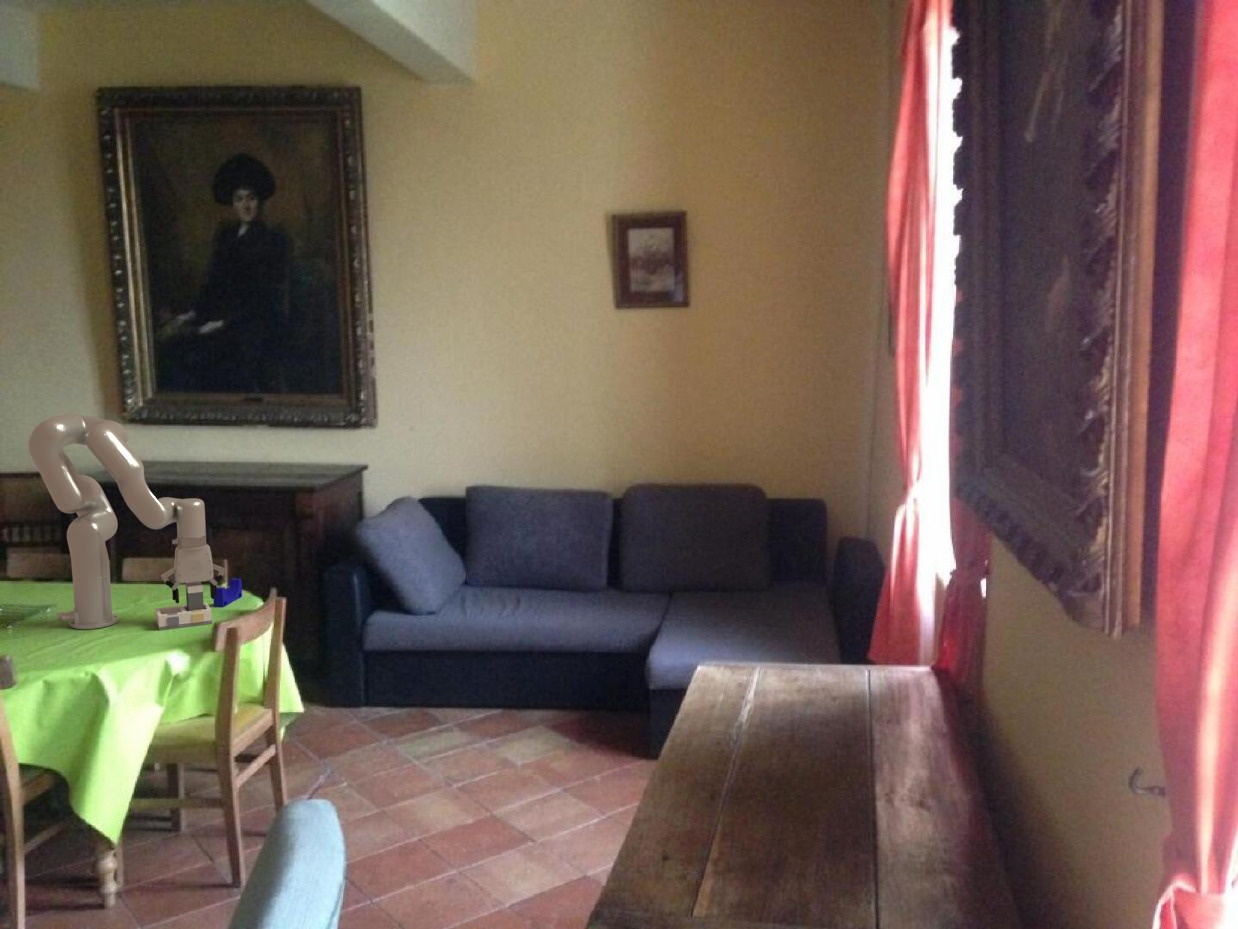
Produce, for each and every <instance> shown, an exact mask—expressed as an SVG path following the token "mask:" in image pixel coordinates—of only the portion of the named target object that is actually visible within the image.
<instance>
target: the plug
mask: <svg viewBox="0 0 1238 929" xmlns="http://www.w3.org/2000/svg"><path fill="white" fill-rule="evenodd" d="M185 598H186V605H187V611H193V610H200V609H202V610H203V609H204V603H205V602H204V586H203V583H202V581H201V582H192V583H185Z"/></svg>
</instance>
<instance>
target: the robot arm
mask: <svg viewBox="0 0 1238 929" xmlns="http://www.w3.org/2000/svg"><path fill="white" fill-rule="evenodd" d="M127 441H128V433H127V429H126V428H125V427H124V426H123V425H122V424H121V423H120V422H117V421H114V420H108V419H104V418H99V417H93V416H87V415H83V414H78V413H77V414H76V413H66V414H65V413H64V414H60V415H56V416H53V417H49V418H47V419H45V420H43V421H41V422H39V424H37V426H36V427H35V428H34V429H33V430H32V432H31V434H30V436H29V439H28V451H29V455H30V457H31V459H32V462H33V463H34V465H35V467H36V469H37V471H38V473H39V475H40V476H41V479H42V481H43V482H44V485H45V487H46V489H47V490H48V492H49V495H50V496H51V499H52V501H53V503H54V505H55V506H56V508H57V509H58V510H60V512H62V513H65V514H75V513H76V514H77V517H76V518H74V519H73V521H72V522H70V524H69V525H68V528H67V530H66V540H67V541H66V542H67V546H68V549H69V554H70V561H71V564H70V565H71V574H72V587H73V588H72V589H73V603H74V607H73V608H72V610H68V612H57V613H56V618H57V621H61V620H62V621H63V622H64V621H69V627H70V628H72V629H77V630H94V629H95V630H96V629H100V628H101V629H102V628H107V627H109V626H113V625H115V624H116V623H118V622H119V620H120V619H119V615H117V614H115V613H113V604H112V603H113V601H112V588H111V584H112V583H111V570H110V560H109V554H108V550H107V546H106V541H108V540H110V539H111V538H112V537H113V536H114V535H115V534H116V533H117V530H118V524H119V523H118V518H117V516H116V514H115V512H114V509H113V508H112V506H111V504H110V501H109V500H108V498H107V496H106V494H105V492H104V490H103V488H102V486H101V485H100V483H99V482H98V481H97V480H95V479H94V478H93V477H92V476H88V475H84V474H78V472H77V470H76V468H75V465H74V463H73V462H72V461H71V459H70V457H68V455H67V454H66V453H65V451H64V447H66V446H70V445H72V444H77V445H82V446H86V447H87V448H88V449H89V451H90V452H91V453H92V454H93V456H94V457H95V458H96V459H97V460H98V462H99V463H101V465H102V466H103V467H104V468H105V471H107V472H108V474H110V476H111V477H112V478H113V479H114V481H115V482H116V484H117V486H118V489H119V493H120V494H121V496H122V497H123V500H124V502H125V504H126V505H127V507H128V508H129V510H131V512H132V513H133V514H134V515H135V516H136V518H137V519H138V520H139V521H140V522H141V523H142V525H144V526H145V527H147V528H149V529H152V530H160V529H163V528H165V527H166V526H168V525H170V524H173V523H176V530H177V531H176V533H177V535H176V538H175V539H171V541H172V545H175V546H176V547H175V551H174V561H173V567H172V568H170V569H169V570H166V572H163V573H161V575H160V577H161V579H162V581H163V582H164V583H165V585H166V586H168V587H169V588H170V589H171V590H172V592H171V593H172V600H173V601H174V602H175V604H180V596H179V595H180V593H179V592H180V591H179V586H180V585H181V584H186V583H194V582H201V583H202V582H207V581H208V582H210V585H209V590H210V591H209V593H210V594H209V595H210V598H211V599H212V600H214V599H215V595H217V589H216V587H217V585H218V583H220V581H222V579H224V578H223V577H224V576H225V573H226V571H227V570H226V568H225V567H222V566H220V565H217V564H214V563H213V556H212V551H211V547H210V545H209V544H207V532H206V530H207V529H206V510H205V502H204V500H202V499H200V498H194V497H193V498H183V499H182V498H175V497H169V496H167V497H165V496H164V497H160V498H157V497H156V496H155V495H154V493H153V492H152V491H151V489H150V488H149V486H148V483H147V482H146V480H145V467H144V463H143V462H142V460H140V458H139V457H138V456H137V455H136V454H135V452H134V451H133V449H131V448H130V447H129V445H128V444H127ZM214 571H218V574H217V575H216V576H215V577H214ZM172 575H174V580H173V582H172V581H171V580H170V579H169V577H170V576H172Z"/></svg>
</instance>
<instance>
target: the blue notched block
mask: <svg viewBox="0 0 1238 929" xmlns="http://www.w3.org/2000/svg"><path fill="white" fill-rule="evenodd" d="M242 583H243V582H242V578H234V577H232V578H230V579H229V587H227V588H226V587H224V586H223V587H221V586H220V587H219V586H216V589H217V595H215V599H213V608H225V607H226V606H228V605H230V604H232V603H234V602H236V601H237V600H239V599H241V598H243V586H242ZM233 601H234V602H233Z"/></svg>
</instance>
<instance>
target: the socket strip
mask: <svg viewBox="0 0 1238 929" xmlns="http://www.w3.org/2000/svg"><path fill="white" fill-rule="evenodd" d="M203 603H204V609H203V610H202V609H200V610H193V611H187V604H183V605H182V604H181V605H174V606H173V605H172V606H165V607H157V608H154V611H155V612H154V613H155V616H154V617H155V624H156V626H157V628H158V631H166V630H167V631H168V630H172V629H173V630H174V629H180V628H188V627H189V628H190V627H197V626H204V625H212V624H213V614H212V612H213V611H212V608H211V607H210V606H209V604H208V602H203Z"/></svg>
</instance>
